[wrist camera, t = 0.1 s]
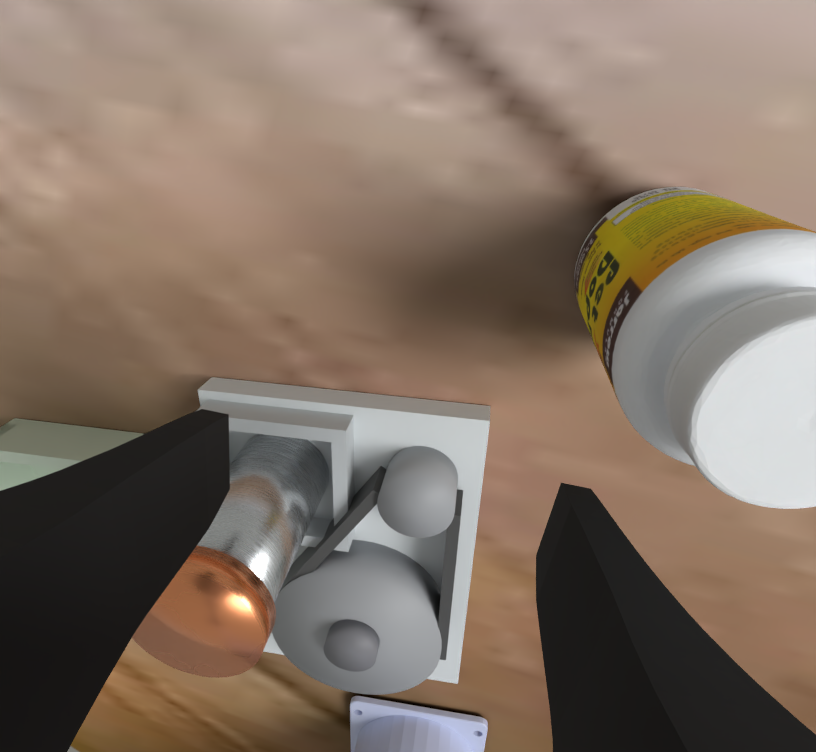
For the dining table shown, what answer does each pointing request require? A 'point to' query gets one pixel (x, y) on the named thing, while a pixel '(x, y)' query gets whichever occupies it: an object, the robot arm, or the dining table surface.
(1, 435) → the tray
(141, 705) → the dining table surface
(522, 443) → the dining table surface
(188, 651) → the pin
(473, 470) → the pulley board
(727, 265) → the supplement bottle
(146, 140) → the dining table surface
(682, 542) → the dining table surface
